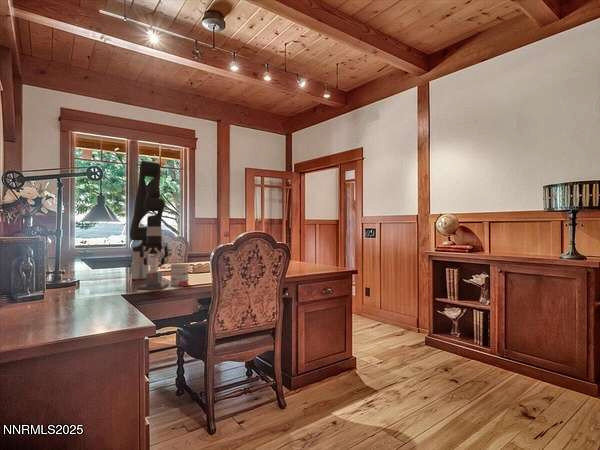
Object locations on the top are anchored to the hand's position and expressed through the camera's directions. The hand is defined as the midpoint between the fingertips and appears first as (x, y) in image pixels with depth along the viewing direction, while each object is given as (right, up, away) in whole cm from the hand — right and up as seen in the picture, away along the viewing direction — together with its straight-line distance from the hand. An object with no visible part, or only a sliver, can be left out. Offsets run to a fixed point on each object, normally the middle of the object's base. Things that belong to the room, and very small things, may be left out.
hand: (154, 265), depth 186 cm
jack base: (0, -12, 0) cm, 12 cm away
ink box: (+10, -12, +10) cm, 19 cm away
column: (0, -10, 0) cm, 10 cm away
